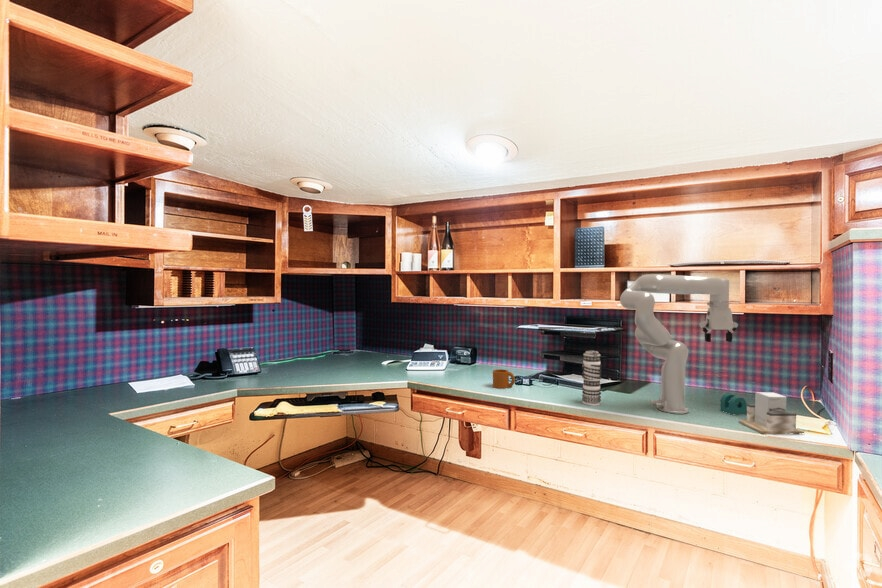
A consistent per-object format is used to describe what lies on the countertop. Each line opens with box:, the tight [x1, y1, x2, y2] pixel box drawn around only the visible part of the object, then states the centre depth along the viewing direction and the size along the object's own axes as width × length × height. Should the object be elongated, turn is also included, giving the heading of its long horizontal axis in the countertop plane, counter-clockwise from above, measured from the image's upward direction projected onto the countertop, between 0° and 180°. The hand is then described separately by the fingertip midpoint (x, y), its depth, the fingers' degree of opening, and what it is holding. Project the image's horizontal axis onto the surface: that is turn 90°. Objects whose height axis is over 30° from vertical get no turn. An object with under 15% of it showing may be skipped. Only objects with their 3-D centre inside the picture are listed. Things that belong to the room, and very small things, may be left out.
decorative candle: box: [581, 350, 603, 406], centre depth 206 cm, size 9×9×25 cm
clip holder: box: [738, 403, 805, 435], centre depth 171 cm, size 16×13×8 cm
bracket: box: [719, 393, 748, 415], centre depth 192 cm, size 18×7×8 cm, turn 99°
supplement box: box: [754, 391, 788, 428], centre depth 171 cm, size 7×7×13 cm
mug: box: [492, 369, 516, 390], centre depth 237 cm, size 9×12×9 cm
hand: (718, 341), depth 200 cm, fingers open, 9 cm apart
